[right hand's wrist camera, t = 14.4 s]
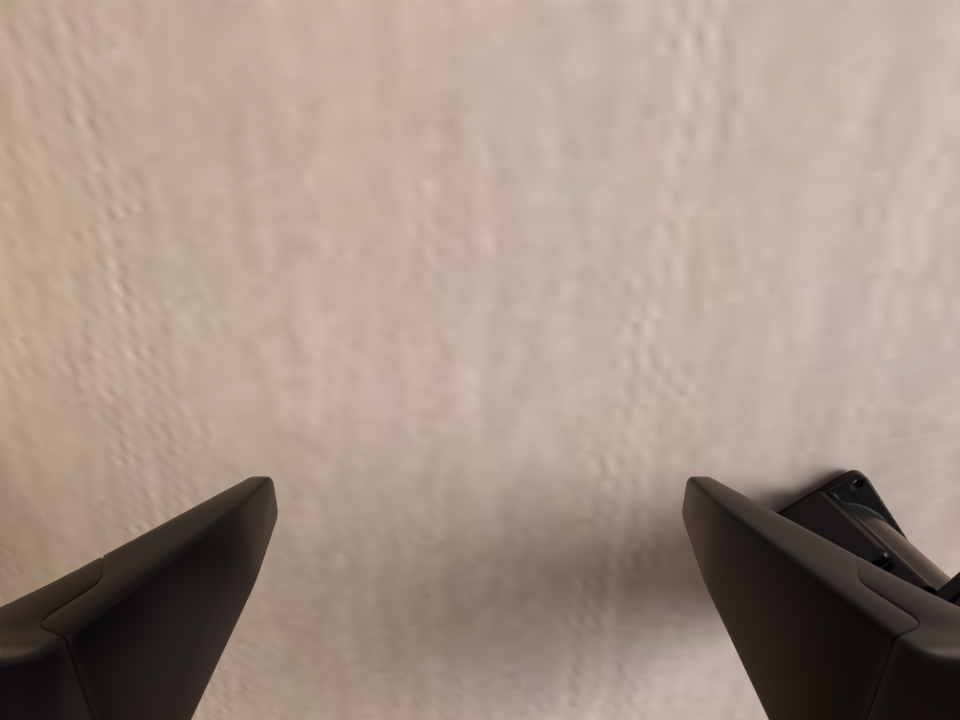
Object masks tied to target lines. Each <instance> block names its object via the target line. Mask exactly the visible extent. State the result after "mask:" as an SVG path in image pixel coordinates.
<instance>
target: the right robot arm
mask: <svg viewBox="0 0 960 720" xmlns="http://www.w3.org/2000/svg"><path fill="white" fill-rule="evenodd" d="M855 480H857V481H856V482H855V483H854V484H852V483H853V482H854V481H855ZM277 513H278V510H277V503H276V496H275V490H274V484H273V481H272V479H271V478H270V477H250V478H248V479H246V480H244V481H243V482H241V483H239V484H237V485H235V486H233V487H231V488H229V489H228V490H226V491H224V492H222V493H220V494H218V495H216V496H214V497H213V498H211V499H209V500H207V501H205V502H203V503H201V504H199V505H198V506H196V507H194V508H192V509H190V510H188V511H186V512H185V513H183V514H181V515H179V516H177V517H175V518H173V519H171V520H170V521H168V522H166V523H164V524H162V525H160V526H158V527H156V528H155V529H153V530H151V531H149V532H147V533H145V534H143V535H141V536H140V537H138V538H136V539H134V540H132V541H130V542H128V543H126V544H125V545H123V546H121V547H119V548H117V549H115V550H113V551H112V552H110V553H108V554H106V555H104V557H103V558H98V559H96V560H94V561H93V562H91V563H89V564H87V565H85V566H83V567H81V568H80V569H78V570H76V571H74V572H72V573H70V574H68V575H66V576H64V577H62V578H60V579H58V580H56V581H54V582H52V583H50V584H48V585H46V586H44V587H42V588H40V589H38V590H36V591H34V592H32V593H30V594H28V595H25V596H23V597H21V598H19V599H17V600H15V601H13V602H11V603H9V604H6V605H4V606H2V607H0V720H191V719H192V717H193V715H194V712H195V710H196V708H197V706H198V704H199V702H200V700H201V697H202V695H203V693H204V691H205V689H206V687H207V685H208V683H209V680H210V678H211V676H212V674H213V672H214V670H215V668H216V666H217V663H218V661H219V659H220V657H221V655H222V653H223V651H224V648H225V646H226V644H227V642H228V640H229V638H230V636H231V634H232V631H233V629H234V627H235V625H236V623H237V621H238V619H239V617H240V614H241V612H242V610H243V608H244V606H245V604H246V602H247V599H248V597H249V595H250V593H251V591H252V589H253V586H254V584H255V582H256V579H257V576H258V574H259V571H260V568H261V565H262V562H263V559H264V556H265V553H266V550H267V547H268V544H269V541H270V538H271V535H272V532H273V529H274V526H275V523H276V520H277ZM682 514H683V520H684V523H685V526H686V529H687V532H688V535H689V538H690V541H691V544H692V547H693V550H694V553H695V556H696V559H697V562H698V565H699V568H700V571H701V574H702V576H703V579H704V582H705V584H706V586H707V589H708V591H709V593H710V595H711V597H712V600H713V602H714V604H715V606H716V608H717V610H718V612H719V614H720V617H721V619H722V621H723V623H724V625H725V627H726V629H727V631H728V634H729V636H730V638H731V640H732V642H733V644H734V646H735V649H736V651H737V653H738V655H739V657H740V659H741V661H742V663H743V666H744V668H745V670H746V672H747V674H748V676H749V678H750V680H751V683H752V685H753V687H754V689H755V691H756V693H757V695H758V697H759V700H760V702H761V704H762V706H763V708H764V710H765V712H766V715H767V717H768V719H769V720H960V572H959V573H958V574H957V575H955V576H954V577H953V578H952V579H951V578H950V577H949V576H947V575H946V574H945V573H944V572H943V571H942V570H941V569H939V568H938V567H937V566H936V565H935V564H934V563H933V562H931V561H930V560H929V559H928V558H927V557H926V556H925V555H923V554H922V553H921V552H920V551H919V550H918V549H917V548H915V547H914V546H913V545H912V544H911V543H910V542H909V541H908V540H907V538H906V537H905V535H904V534H903V532H902V531H901V529H900V528H899V526H898V524H897V523H896V521H895V520H894V518H893V517H892V515H891V514H890V512H889V510H888V509H887V507H886V506H885V504H884V503H883V501H882V500H881V498H880V497H879V495H878V493H877V492H876V490H875V489H874V487H873V486H872V484H871V483H870V481H869V480H868V478H867V477H866V476H864V475H863V474H862V473H861V472H859V471H857V470H851V471H848V472H846V473H844V474H843V475H841V476H839V477H838V478H836V479H834V480H833V481H831V482H829V483H827V484H826V485H824V486H822V487H821V488H819V489H817V490H816V491H814V492H812V493H810V494H809V495H807V496H805V497H804V498H802V499H800V500H799V501H797V502H795V503H793V504H792V505H790V506H788V507H787V508H785V509H783V510H782V511H780V512H778V513H775V512H774V511H772V510H770V509H768V508H766V507H764V506H762V505H761V504H759V503H757V502H755V501H753V500H751V499H749V498H747V497H746V496H744V495H742V494H740V493H738V492H736V491H734V490H732V489H731V488H729V487H727V486H725V485H723V484H721V483H719V482H717V481H716V480H714V479H712V478H710V477H690V478H689V479H688V481H687V484H686V490H685V496H684V503H683V510H682Z"/></svg>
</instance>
